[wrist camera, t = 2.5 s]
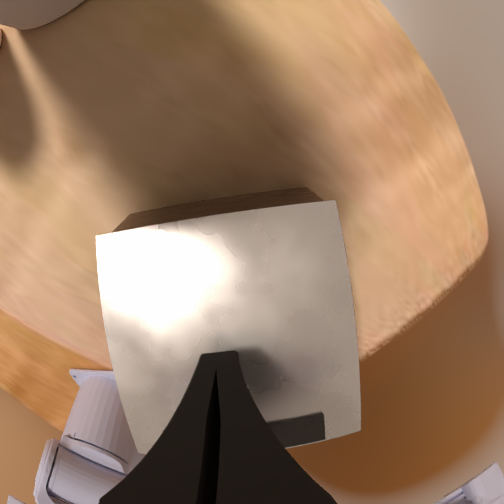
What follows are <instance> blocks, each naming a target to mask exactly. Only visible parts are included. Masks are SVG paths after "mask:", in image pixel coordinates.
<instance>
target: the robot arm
mask: <svg viewBox="0 0 504 504" xmlns="http://www.w3.org/2000/svg"><path fill="white" fill-rule="evenodd" d="M69 373H70V375H71V376H72V377H73V379H74V380H75V381H76V383H77V384H78V385H79V387H80V388H79V391H78V393H77V396H76V399H75V401H74V404H73V406H72V409H71V412H70V414H69V417H68V420H67V423H66V426H65V429H64V432H63V435H62V437H61V439H60V441H59V442H58V440H57V439H55V438H52V439H49V440H47V442H46V445H45V448H44V452H43V455H42V458H41V462H40V465H39V468H38V472H37V475H36V479H35V483H36V484H35V488H34V493H33V495H34V497H35V501H36V503H37V504H69V503H71V504H337V503H336V501H335V500H334V499H333V498H332V496H331V495H330V494H329V493H328V492H326V491H325V490H324V489H323V488H322V487H321V486H319V484H317V483H316V482H315V481H314V480H313V479H312V478H311V477H310V476H309V475H308V474H307V473H306V472H305V471H304V470H303V469H302V468H301V467H300V465H299V464H298V463H297V462H296V461H295V460H294V459H293V457H292V456H291V455H290V454H289V453H288V452H287V450H286V449H285V448H284V447H283V445H282V444H281V443H280V441H279V440H278V439H277V437H276V436H275V434H274V433H273V432H272V430H271V429H270V427H269V426H268V424H267V423H266V421H265V419H264V418H263V416H262V414H261V413H260V411H259V409H258V407H257V405H256V404H255V402H254V400H253V398H252V396H251V393H250V391H249V389H248V387H247V385H246V382H245V380H244V376H243V372H242V367H241V363H240V359H239V355H238V352H237V351H235V350H231V351H222V352H213V353H204V354H201V355H200V358H199V360H198V363H197V366H196V369H195V371H194V373H193V376H192V378H191V381H190V383H189V385H188V387H187V389H186V391H185V393H184V396H183V398H182V400H181V402H180V404H179V405H178V407H177V409H176V411H175V413H174V414H173V416H172V418H171V420H170V421H169V423H168V425H167V426H166V428H165V429H164V431H163V432H162V434H161V435H160V437H159V438H158V440H157V441H156V442H155V444H154V445H153V446H152V448H151V449H150V450H149V451H148V453H147V454H146V455H145V454H141V453H138V450H137V448H136V445H135V442H134V439H133V437H132V434H131V431H130V428H129V425H128V422H127V419H126V416H125V412H124V409H123V406H122V402H121V399H120V395H119V391H118V388H117V384H116V380H115V376H114V372H113V371H105V370H83V369H70V371H69ZM58 498H60V499H62V500H64V501H62V500H60V499H58ZM65 501H66V502H65ZM67 502H68V503H67ZM7 504H25V503H24V502H22V501H20V500H18V499H17V498H15V497H13V496H12V495H9V497H8V502H7ZM433 504H504V475H503V474H502V471H501V469H500V468H499V465H498V463H497V462H494V463H492V464H491V465H490V466H488V467H487V468H486V469H484V470H483V471H482V472H481V473H479V474H478V475H476V476H475V477H473V478H471V479H470V480H468V481H467V482H466V483H464V484H462V485H461V486H459V487H458V488H456V489H455V490H453V491H452V492H450V493H448V494H447V495H445V496H444V497H443V498H442V499H440V500H438V501H437V502H435V503H433Z"/></svg>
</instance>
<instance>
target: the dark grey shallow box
mask: <svg viewBox="0 0 504 504" xmlns="http://www.w3.org/2000/svg"><path fill="white" fill-rule="evenodd" d="M321 201H323V200H322V199H321V198H319V197H318V196H317V195H316V194H314V193H313V192H312V191H310V190H309V189H308V188H298V189H288V190H279V191H271V192H263V193H255V194H247V195H240V196H233V197H226V198H219V199H213V200H206V201H200V202H194V203H188V204H182V205H176V206H171V207H165V208H160V209H154V210H149V211H144V212H139V213H134V214H130V215H129V216H128V217H127V218H126V219H125V220H124V221H123V222H122V223H121V224H120V225H119V226H118V227H117V228H116V229H115V230H114V231H113V232H112V233H114V232H119V231H125V230H130V229H135V228H141V227H146V226H152V225H157V224H163V223H169V222H175V221H181V220H187V219H193V218H199V217H206V216H212V215H219V214H226V213H233V212H240V211H247V210H254V209H262V208H270V207H278V206H286V205H294V204H303V203H312V202H321Z"/></svg>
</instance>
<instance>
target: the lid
mask: <svg viewBox="0 0 504 504" xmlns="http://www.w3.org/2000/svg"><path fill="white" fill-rule="evenodd" d="M96 251H97V267H98V279H99V289H100V298H101V306H102V313H103V320H104V326H105V332H106V338H107V343H108V348H109V353H110V358H111V363H112V367H113V372H114V376H115V380H116V384H117V388H118V391H119V395H120V399H121V402H122V406H123V409H124V412H125V416H126V419H127V422H128V425H129V428H130V431H131V434H132V437H133V439H134V442H135V445H136V448H137V450H138V453H141V454H147V453H148V451H149V450H150V449H151V448H152V446H153V445H154V444H155V442H156V441H157V440H158V438H159V437H160V435H161V434H162V432H163V431H164V429H165V428H166V426H167V425H168V423H169V421H170V420H171V418H172V416H173V414H174V413H175V411H176V409H177V407H178V405H179V404H180V402H181V400H182V398H183V396H184V393H185V391H186V389H187V387H188V385H189V383H190V381H191V378H192V376H193V373H194V371H195V369H196V366H197V363H198V360H199V358H200V355H201V354H204V353H213V352H222V351H231V350H235V351H237V352H238V355H239V359H240V363H241V367H242V372H243V376H244V380H245V382H246V385H247V387H248V389H249V391H250V393H251V396H252V398H253V400H254V402H255V404H256V405H257V407H258V409H259V411H260V413H261V414H262V416H263V418H264V419H265V421H266V423H267V424H268V426H269V427H270V429H271V430H272V432H273V433H274V434H275V436H276V437H277V439H278V440H279V441H280V443H281V444H282V445H283V447H284V448H291V447H296V446H302V445H307V444H311V443H316V442H320V441H324V440H328V439H333V438H336V437H340V436H344V435H347V434H351V433H354V432H358V431H361V396H360V375H359V374H360V373H359V357H358V344H357V333H356V323H355V314H354V305H353V297H352V290H351V283H350V276H349V269H348V263H347V257H346V251H345V245H344V240H343V234H342V229H341V224H340V219H339V214H338V209H337V204H336V200H331V201H321V202H312V203H303V204H294V205H286V206H278V207H270V208H262V209H254V210H247V211H240V212H233V213H226V214H219V215H212V216H206V217H199V218H193V219H187V220H181V221H175V222H169V223H163V224H157V225H152V226H146V227H141V228H135V229H130V230H125V231H119V232H114V233H109V234H104V235H99V236H96Z"/></svg>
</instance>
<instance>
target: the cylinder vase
mask: <svg viewBox="0 0 504 504" xmlns="http://www.w3.org/2000/svg"><path fill="white" fill-rule="evenodd" d="M83 1H85V0H0V24H2V25H6V26H9V27H13V28H16V29H22V30H26V29H33V28H37V27H40V26H43V25H45V24H48V23H50V22H52V21H54V20H56V19H58V18H59V17H61V16H63V15H65V14H66V13H68V12H69V11H71V10H72V9H74V8H75V7H77V6H78V5H79V4H81V3H82V2H83Z"/></svg>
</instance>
